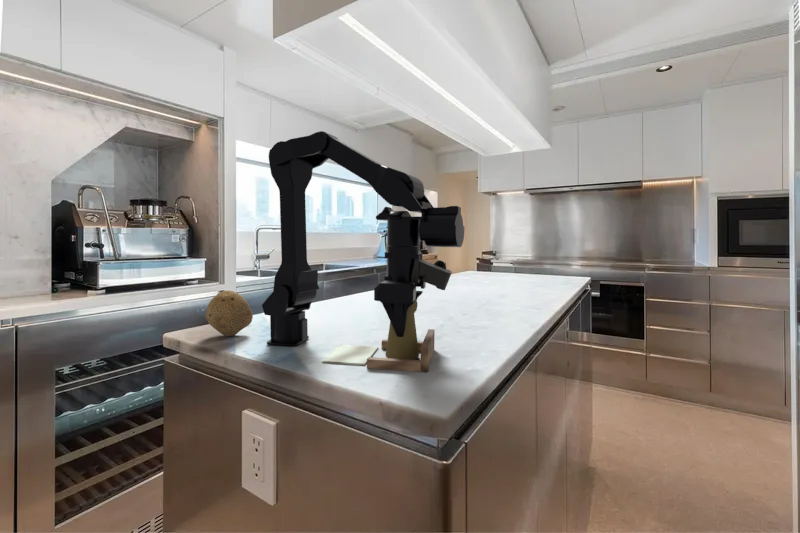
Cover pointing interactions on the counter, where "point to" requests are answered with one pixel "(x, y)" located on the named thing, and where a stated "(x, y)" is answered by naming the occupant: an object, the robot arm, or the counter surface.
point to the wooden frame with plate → (364, 355)
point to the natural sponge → (228, 313)
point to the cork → (404, 339)
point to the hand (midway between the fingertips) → (402, 333)
